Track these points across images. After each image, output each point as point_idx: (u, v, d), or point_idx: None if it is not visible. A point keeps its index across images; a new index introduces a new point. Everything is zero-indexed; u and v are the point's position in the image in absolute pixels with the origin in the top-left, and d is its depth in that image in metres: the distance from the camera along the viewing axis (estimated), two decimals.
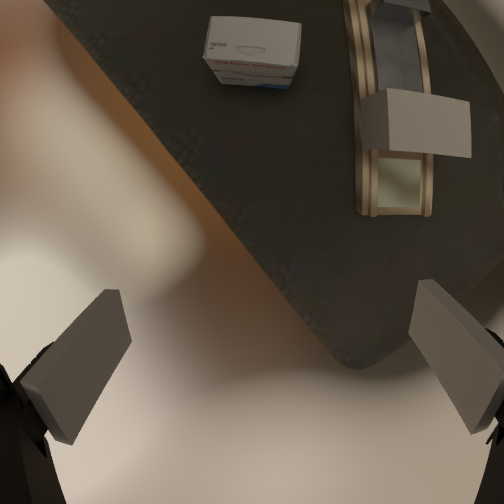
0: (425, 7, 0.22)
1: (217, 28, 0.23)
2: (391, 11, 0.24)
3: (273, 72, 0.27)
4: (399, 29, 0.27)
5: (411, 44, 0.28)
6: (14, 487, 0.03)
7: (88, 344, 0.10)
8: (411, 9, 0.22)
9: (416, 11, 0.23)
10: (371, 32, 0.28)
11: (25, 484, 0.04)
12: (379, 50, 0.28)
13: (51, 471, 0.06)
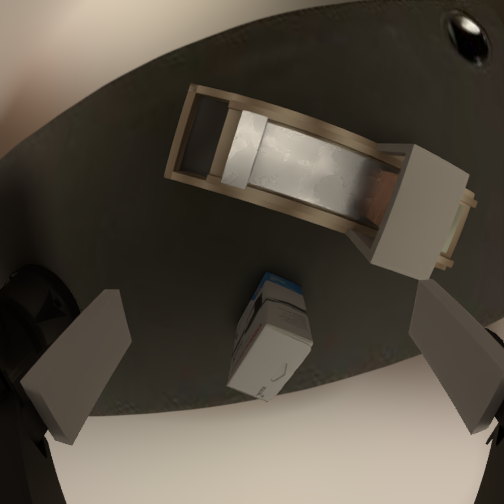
0: (258, 123, 0.23)
1: (243, 387, 0.28)
2: None
3: None
4: (272, 148, 0.28)
5: (296, 141, 0.28)
6: (14, 487, 0.03)
7: (88, 344, 0.10)
8: (259, 145, 0.24)
9: (261, 137, 0.24)
10: (270, 189, 0.29)
11: (25, 484, 0.04)
12: (297, 191, 0.29)
13: (51, 471, 0.06)
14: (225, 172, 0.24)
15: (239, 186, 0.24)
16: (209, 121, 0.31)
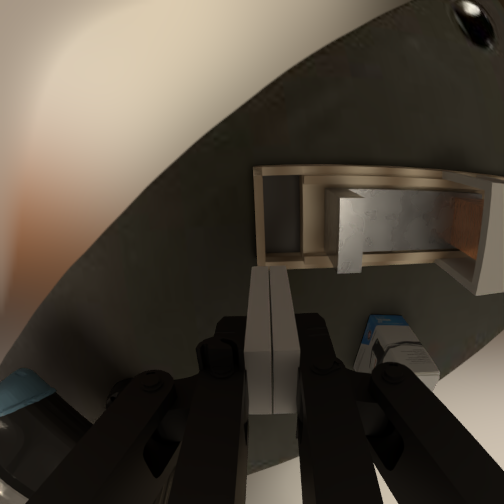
0: (358, 206, 0.22)
1: None
2: None
3: None
4: None
5: (379, 198, 0.27)
6: (214, 485, 0.05)
7: None
8: None
9: None
10: None
11: (230, 484, 0.05)
12: (391, 245, 0.28)
13: (245, 460, 0.07)
14: (339, 263, 0.24)
15: (355, 271, 0.24)
16: (280, 197, 0.31)
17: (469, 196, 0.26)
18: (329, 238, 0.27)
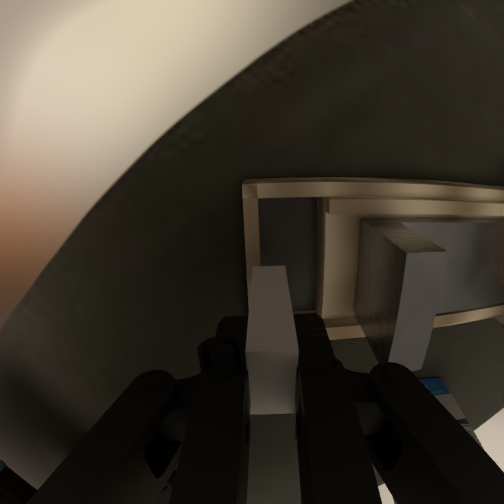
0: (434, 267, 0.11)
1: None
2: None
3: None
4: None
5: (443, 236, 0.16)
6: (216, 485, 0.05)
7: None
8: None
9: None
10: None
11: (231, 484, 0.05)
12: (450, 303, 0.17)
13: (247, 461, 0.07)
14: (390, 361, 0.13)
15: (413, 369, 0.13)
16: (286, 230, 0.20)
17: None
18: (369, 306, 0.16)
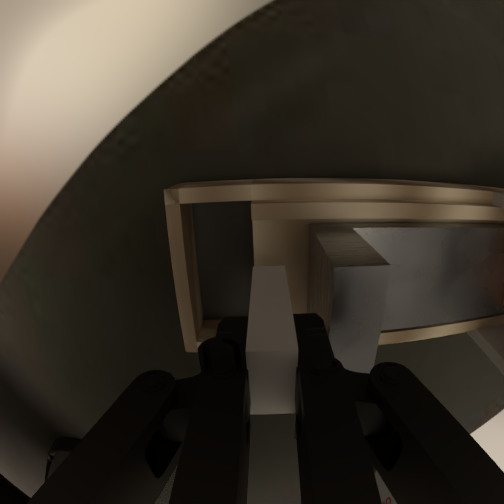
0: (373, 284, 0.10)
1: None
2: None
3: None
4: None
5: (406, 243, 0.15)
6: (216, 485, 0.05)
7: None
8: None
9: None
10: None
11: (232, 484, 0.05)
12: (418, 318, 0.16)
13: (247, 461, 0.07)
14: None
15: None
16: (222, 235, 0.19)
17: None
18: None
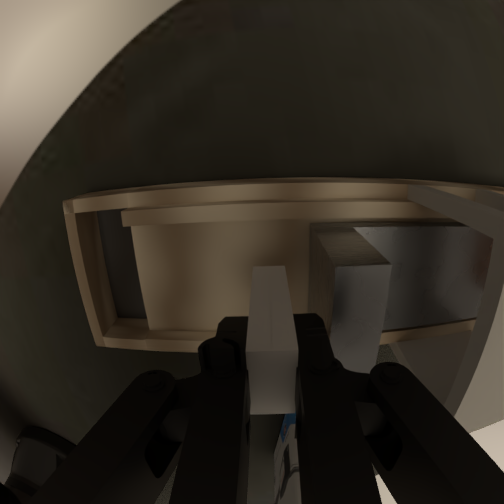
0: (374, 283, 0.10)
1: None
2: None
3: None
4: None
5: (407, 242, 0.15)
6: (216, 485, 0.05)
7: None
8: None
9: None
10: None
11: (232, 484, 0.05)
12: (419, 317, 0.16)
13: (247, 461, 0.07)
14: None
15: None
16: (123, 239, 0.19)
17: None
18: None
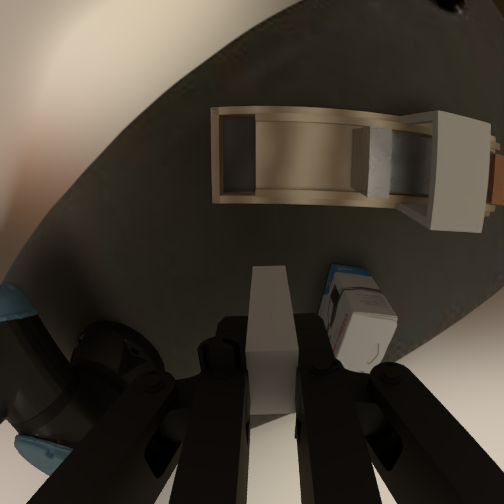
0: (386, 136, 0.23)
1: None
2: None
3: None
4: None
5: (401, 142, 0.27)
6: (216, 485, 0.05)
7: None
8: (389, 156, 0.24)
9: None
10: (389, 190, 0.30)
11: (232, 484, 0.05)
12: (412, 187, 0.29)
13: (247, 461, 0.07)
14: (369, 187, 0.24)
15: (383, 197, 0.25)
16: (238, 138, 0.32)
17: None
18: (357, 171, 0.27)
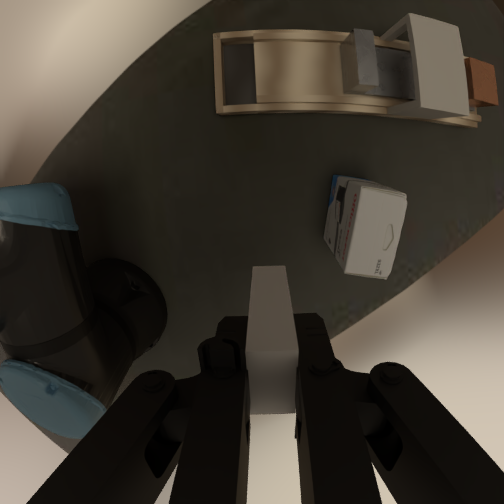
0: (368, 35, 0.23)
1: (360, 267, 0.28)
2: None
3: None
4: None
5: (384, 54, 0.28)
6: (216, 485, 0.05)
7: None
8: (374, 52, 0.24)
9: None
10: (379, 95, 0.30)
11: (232, 484, 0.05)
12: (400, 92, 0.29)
13: (247, 461, 0.07)
14: (360, 75, 0.24)
15: (374, 84, 0.25)
16: (238, 62, 0.32)
17: None
18: (348, 73, 0.27)
